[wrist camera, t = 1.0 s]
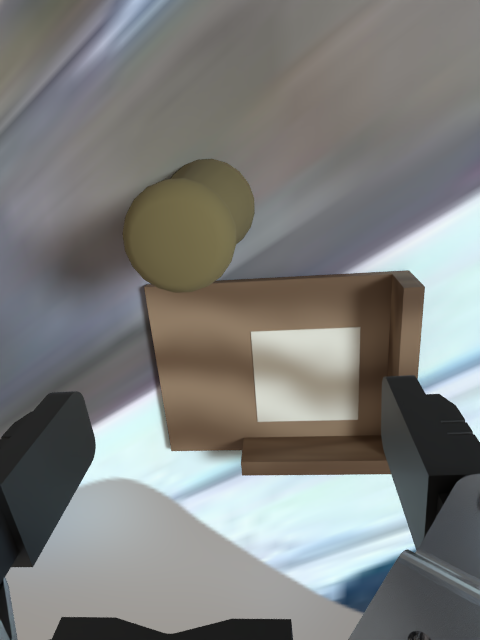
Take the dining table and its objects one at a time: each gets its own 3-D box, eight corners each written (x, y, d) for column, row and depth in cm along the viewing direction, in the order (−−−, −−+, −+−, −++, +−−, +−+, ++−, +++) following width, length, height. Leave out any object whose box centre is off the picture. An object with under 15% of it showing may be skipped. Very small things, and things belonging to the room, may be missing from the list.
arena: (146, 284, 32) (131, 301, 28) (408, 270, 30) (424, 286, 27) (173, 446, 37) (163, 476, 34) (397, 442, 35) (409, 474, 32)
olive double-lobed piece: (161, 247, 30) (103, 302, 20) (164, 153, 28) (101, 163, 18) (249, 258, 30) (235, 319, 20) (260, 164, 28) (250, 180, 18)
